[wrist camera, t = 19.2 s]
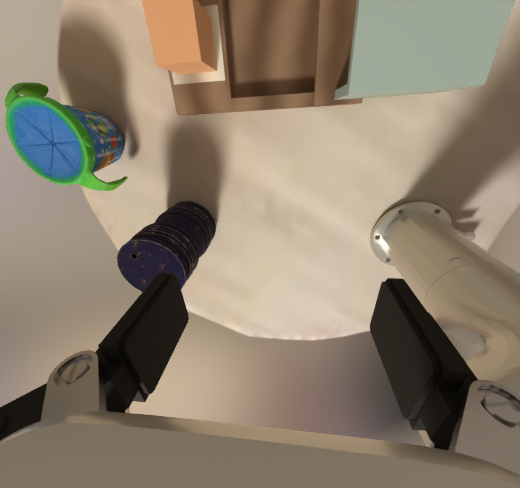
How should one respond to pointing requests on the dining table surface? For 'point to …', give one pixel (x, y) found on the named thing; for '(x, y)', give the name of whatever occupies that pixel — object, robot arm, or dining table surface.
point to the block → (180, 35)
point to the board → (271, 57)
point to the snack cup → (61, 138)
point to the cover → (422, 46)
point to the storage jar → (168, 245)
